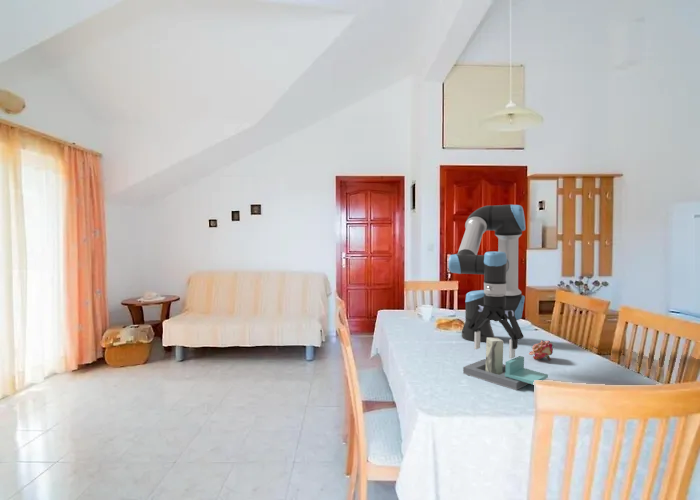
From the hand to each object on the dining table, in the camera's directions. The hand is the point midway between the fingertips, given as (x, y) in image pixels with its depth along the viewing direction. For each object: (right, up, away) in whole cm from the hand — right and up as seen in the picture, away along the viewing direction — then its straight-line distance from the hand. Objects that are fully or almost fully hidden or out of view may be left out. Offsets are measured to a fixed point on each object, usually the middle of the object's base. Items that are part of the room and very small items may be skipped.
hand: (494, 353), depth 141 cm
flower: (+25, -8, +18) cm, 32 cm away
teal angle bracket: (+7, -6, -9) cm, 13 cm away
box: (0, -8, 0) cm, 8 cm away
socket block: (+1, -8, -1) cm, 8 cm away
